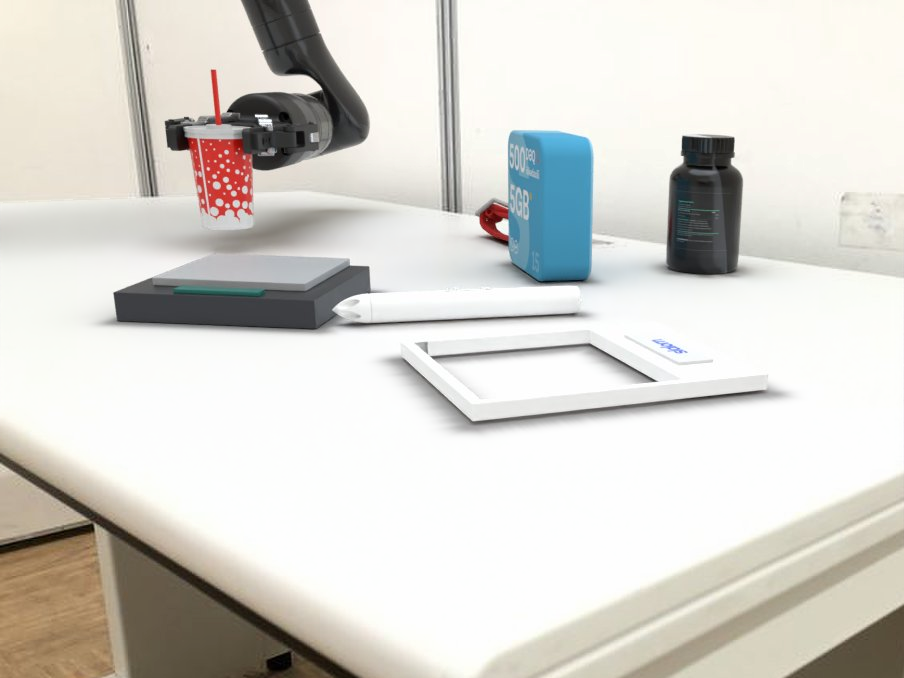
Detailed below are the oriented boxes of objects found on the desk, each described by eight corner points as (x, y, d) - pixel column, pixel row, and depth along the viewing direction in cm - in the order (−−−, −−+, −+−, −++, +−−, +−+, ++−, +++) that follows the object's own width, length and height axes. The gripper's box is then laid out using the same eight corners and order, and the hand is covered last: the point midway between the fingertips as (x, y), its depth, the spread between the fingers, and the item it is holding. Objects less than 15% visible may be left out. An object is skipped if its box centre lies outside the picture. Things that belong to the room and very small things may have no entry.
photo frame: (768, 371, 64) (472, 400, 57) (767, 389, 65) (472, 421, 57) (656, 319, 77) (400, 338, 69) (655, 335, 77) (400, 355, 70)
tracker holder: (589, 226, 120) (585, 215, 111) (578, 266, 121) (573, 258, 111) (481, 196, 120) (467, 182, 110) (471, 236, 121) (456, 225, 111)
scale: (116, 320, 77) (111, 283, 76) (200, 284, 90) (196, 251, 89) (316, 329, 76) (313, 291, 75) (370, 290, 89) (369, 258, 88)
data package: (508, 261, 105) (507, 128, 100) (554, 260, 106) (554, 129, 102) (541, 284, 94) (542, 137, 90) (592, 282, 96) (594, 138, 92)
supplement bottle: (684, 259, 109) (690, 132, 105) (749, 267, 106) (757, 136, 102) (653, 269, 103) (657, 135, 99) (719, 277, 100) (727, 139, 96)
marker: (334, 328, 77) (332, 294, 76) (331, 321, 78) (329, 288, 78) (581, 315, 83) (581, 284, 82) (572, 310, 85) (572, 279, 84)
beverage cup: (276, 225, 106) (263, 71, 101) (229, 233, 101) (214, 70, 96) (227, 220, 109) (212, 68, 104) (179, 227, 103) (161, 68, 98)
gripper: (203, 89, 114) (125, 93, 99) (340, 95, 114) (285, 99, 98) (210, 164, 117) (136, 179, 101) (344, 170, 117) (291, 186, 101)
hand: (209, 140), depth 100 cm, fingers closed on beverage cup, 6 cm apart
